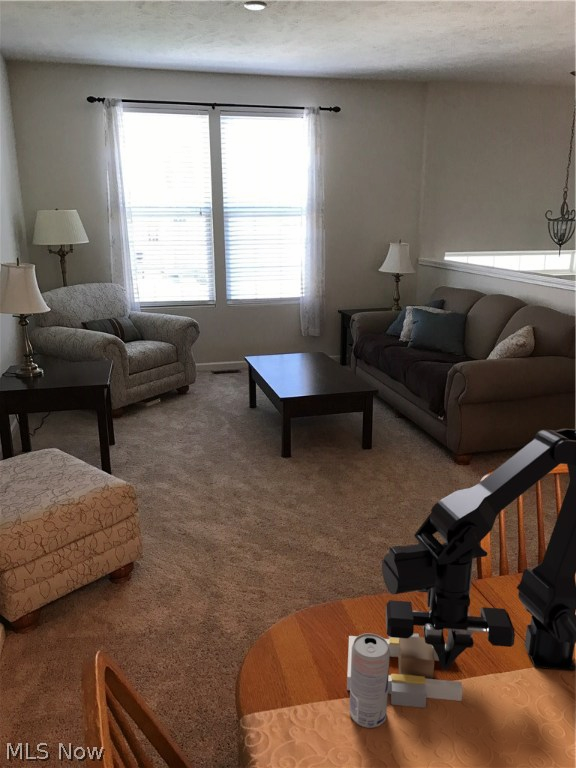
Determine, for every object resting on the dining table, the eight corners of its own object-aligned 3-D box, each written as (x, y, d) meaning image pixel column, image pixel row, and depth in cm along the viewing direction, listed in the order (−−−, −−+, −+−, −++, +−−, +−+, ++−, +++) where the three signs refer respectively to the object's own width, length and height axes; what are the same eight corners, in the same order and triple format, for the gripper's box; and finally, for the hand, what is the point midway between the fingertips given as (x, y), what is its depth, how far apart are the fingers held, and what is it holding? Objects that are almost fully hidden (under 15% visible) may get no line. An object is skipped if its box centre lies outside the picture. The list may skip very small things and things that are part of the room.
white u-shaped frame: (450, 648, 99) (452, 634, 99) (463, 711, 87) (465, 696, 86) (348, 639, 102) (349, 626, 101) (346, 699, 89) (346, 685, 88)
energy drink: (385, 701, 88) (388, 633, 85) (387, 730, 83) (391, 659, 80) (349, 698, 89) (351, 631, 86) (349, 727, 84) (351, 657, 81)
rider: (429, 664, 96) (430, 638, 95) (432, 687, 91) (434, 660, 90) (398, 661, 97) (399, 635, 95) (399, 684, 92) (401, 657, 90)
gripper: (502, 556, 95) (494, 638, 99) (386, 549, 98) (382, 629, 102) (520, 598, 85) (509, 688, 89) (389, 589, 87) (384, 677, 91)
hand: (443, 668), depth 93 cm, fingers closed
